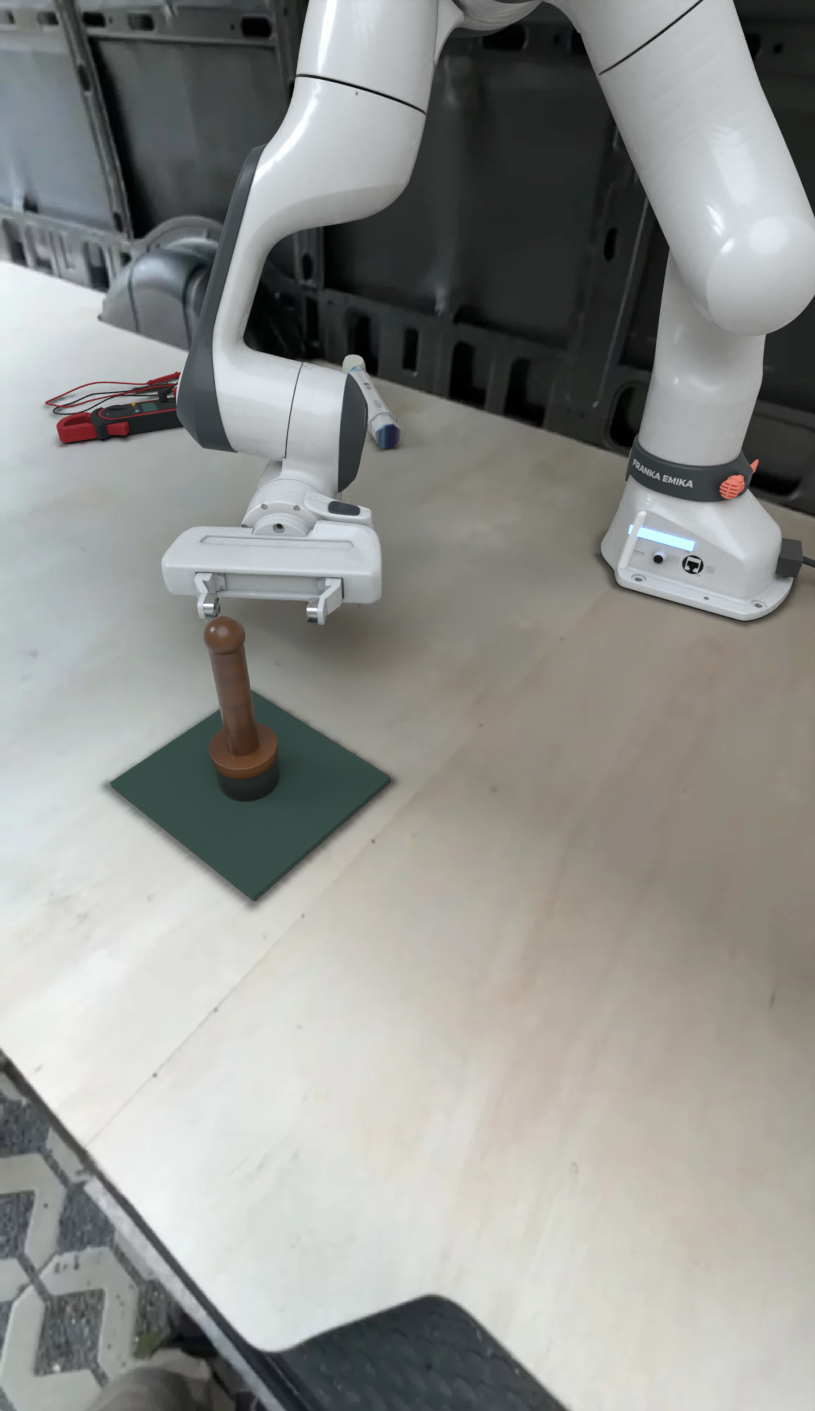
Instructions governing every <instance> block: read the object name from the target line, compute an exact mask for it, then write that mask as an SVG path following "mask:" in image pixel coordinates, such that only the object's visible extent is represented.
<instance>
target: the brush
mask: <svg viewBox="0 0 815 1411" xmlns="http://www.w3.org/2000/svg"><path fill="white" fill-rule="evenodd" d="M202 639H203V643H204V645H205V646H206V648H207V650H208V654H209V659H210V665H211V670H212V675H213V680H214V685H215V691H216V695H217V701H218V706H219V709H220V712H221V717H222V722H223V727H224V728H223V729H221V730H220V731H219V732H217V733H216V734H215V736H214V737H213V738H212V740H211V742H210V745H209V753H210V758H211V762H212V765H213V767H214V768H215V770H216V774H217V778H218V783H219V787H220V789H221V791H222V792H223V793H224V794H225V795H226V796H227V797H229V798H231V799H233V800H237V801H254V800H258V799H261V798H263V797H265V796H267V795H268V794H270V793H271V792H272V791H273V790H274V789H275V788H276V786H277V784H278V782H279V778H280V774H279V766H278V759H277V758H278V754H279V749H278V741H277V737H276V735H275V733H274V732H273V731H272V730H271V729H270V728H269V727H267V726H266V725H263V724H261V723H257V722H256V719H255V712H254V706H253V700H252V693H251V690H252V688H251V682H250V674H249V668H248V662H247V654H246V649H245V642H246V632H245V629H244V626H243V625H242V624H241V622H240V621H239V620H237V619H236V618H235V617H233V616H229V615H218V617H215V618H213V619H212V620H208V622H207V624H205V627H204V629H203V634H202Z"/></svg>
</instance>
